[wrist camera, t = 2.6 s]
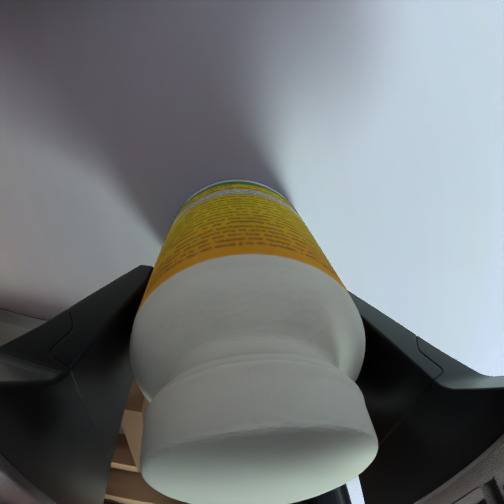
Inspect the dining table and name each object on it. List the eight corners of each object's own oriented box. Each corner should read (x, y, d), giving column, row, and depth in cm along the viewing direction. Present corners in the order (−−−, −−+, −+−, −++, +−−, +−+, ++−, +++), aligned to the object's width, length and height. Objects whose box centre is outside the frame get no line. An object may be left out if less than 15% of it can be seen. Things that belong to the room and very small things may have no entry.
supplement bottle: (315, 269, 13) (409, 472, 5) (205, 310, 14) (201, 522, 5) (275, 154, 11) (432, 323, 2) (147, 208, 12) (29, 428, 3)
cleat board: (276, 351, 15) (295, 441, 11) (239, 459, 22) (243, 514, 17) (-52, 292, 12) (-94, 341, 7) (9, 413, 18) (-9, 457, 13)
